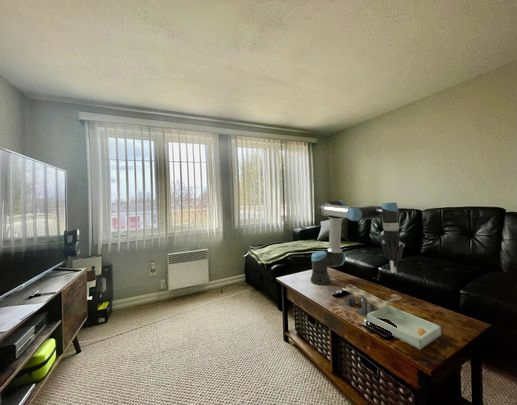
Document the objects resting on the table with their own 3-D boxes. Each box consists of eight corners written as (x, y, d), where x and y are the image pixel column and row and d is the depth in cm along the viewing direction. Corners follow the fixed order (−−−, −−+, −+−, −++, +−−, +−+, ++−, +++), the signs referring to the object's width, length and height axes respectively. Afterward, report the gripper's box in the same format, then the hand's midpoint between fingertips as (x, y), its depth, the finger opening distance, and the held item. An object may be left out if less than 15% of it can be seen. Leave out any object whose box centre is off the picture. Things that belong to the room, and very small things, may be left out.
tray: (366, 322, 107) (366, 314, 107) (387, 312, 115) (387, 304, 115) (420, 349, 85) (419, 339, 85) (441, 335, 93) (440, 326, 93)
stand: (343, 305, 125) (342, 290, 125) (354, 301, 129) (353, 286, 129) (370, 319, 109) (369, 301, 109) (382, 313, 113) (381, 296, 114)
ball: (425, 338, 90) (417, 336, 93) (429, 336, 91) (421, 334, 94) (422, 330, 91) (414, 328, 93) (426, 328, 92) (418, 326, 95)
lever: (345, 291, 126) (345, 285, 126) (364, 284, 134) (364, 279, 134) (382, 310, 106) (382, 304, 106) (402, 301, 114) (402, 295, 114)
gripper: (375, 229, 120) (378, 270, 119) (399, 231, 108) (402, 276, 108) (383, 228, 123) (386, 268, 123) (407, 230, 112) (410, 274, 111)
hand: (393, 272), depth 115 cm, fingers closed
